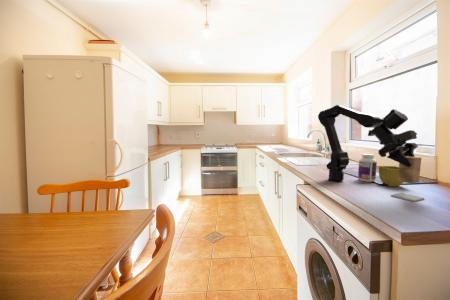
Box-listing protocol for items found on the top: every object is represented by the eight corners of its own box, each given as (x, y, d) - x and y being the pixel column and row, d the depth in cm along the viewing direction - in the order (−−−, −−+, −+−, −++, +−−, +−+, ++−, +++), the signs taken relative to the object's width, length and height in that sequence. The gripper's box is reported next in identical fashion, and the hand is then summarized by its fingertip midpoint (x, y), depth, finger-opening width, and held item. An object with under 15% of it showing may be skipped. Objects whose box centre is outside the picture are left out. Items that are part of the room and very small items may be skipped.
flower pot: (407, 187, 107) (408, 169, 106) (388, 187, 107) (390, 168, 107) (393, 183, 116) (395, 166, 115) (376, 182, 116) (378, 165, 115)
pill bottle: (370, 179, 125) (372, 153, 123) (378, 182, 117) (380, 155, 115) (354, 178, 125) (356, 153, 124) (362, 182, 117) (364, 155, 116)
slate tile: (390, 196, 93) (390, 194, 93) (401, 193, 96) (401, 192, 96) (413, 201, 86) (413, 200, 86) (424, 199, 89) (424, 197, 89)
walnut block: (397, 180, 91) (399, 156, 90) (404, 179, 93) (406, 156, 92) (412, 183, 87) (414, 158, 86) (418, 182, 89) (421, 157, 88)
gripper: (389, 123, 87) (420, 154, 79) (414, 124, 95) (445, 152, 87) (367, 141, 95) (393, 172, 86) (392, 141, 103) (418, 168, 94)
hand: (413, 165), depth 88 cm, fingers closed on walnut block, 5 cm apart
